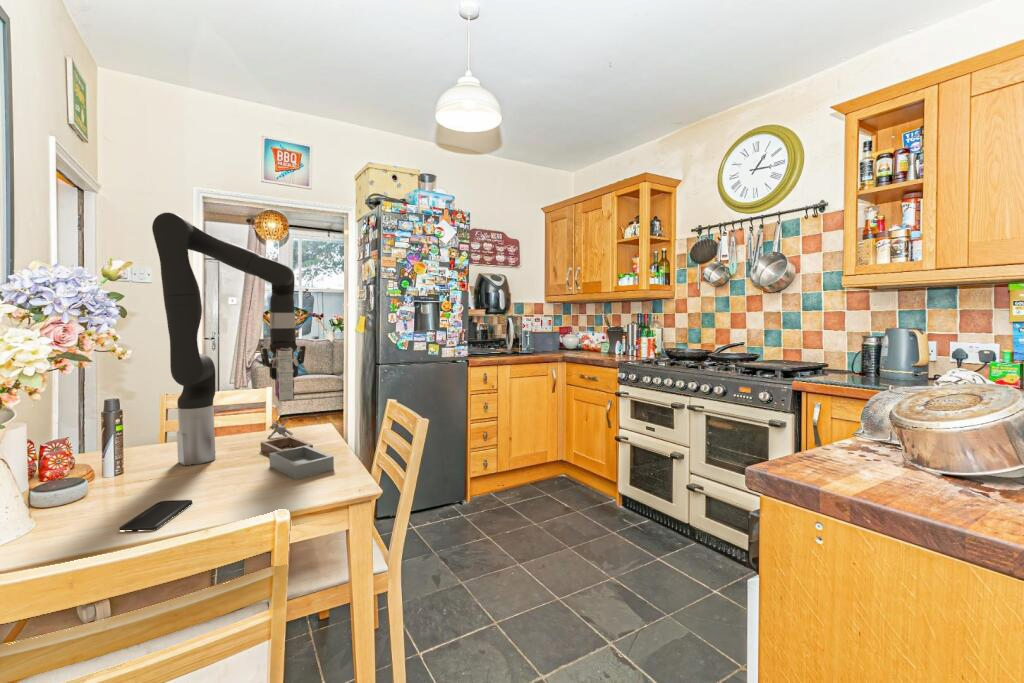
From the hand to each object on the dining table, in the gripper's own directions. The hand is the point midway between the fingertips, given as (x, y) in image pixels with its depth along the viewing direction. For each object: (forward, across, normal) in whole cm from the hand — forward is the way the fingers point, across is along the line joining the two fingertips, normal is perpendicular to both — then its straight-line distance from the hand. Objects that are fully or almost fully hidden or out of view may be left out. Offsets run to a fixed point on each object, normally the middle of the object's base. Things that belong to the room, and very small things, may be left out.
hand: (284, 378), depth 157 cm
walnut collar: (+25, 0, 0) cm, 25 cm away
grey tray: (+25, +4, +19) cm, 31 cm away
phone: (+25, +41, +27) cm, 55 cm away
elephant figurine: (+25, -8, -20) cm, 33 cm away
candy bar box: (+7, 0, 0) cm, 7 cm away
